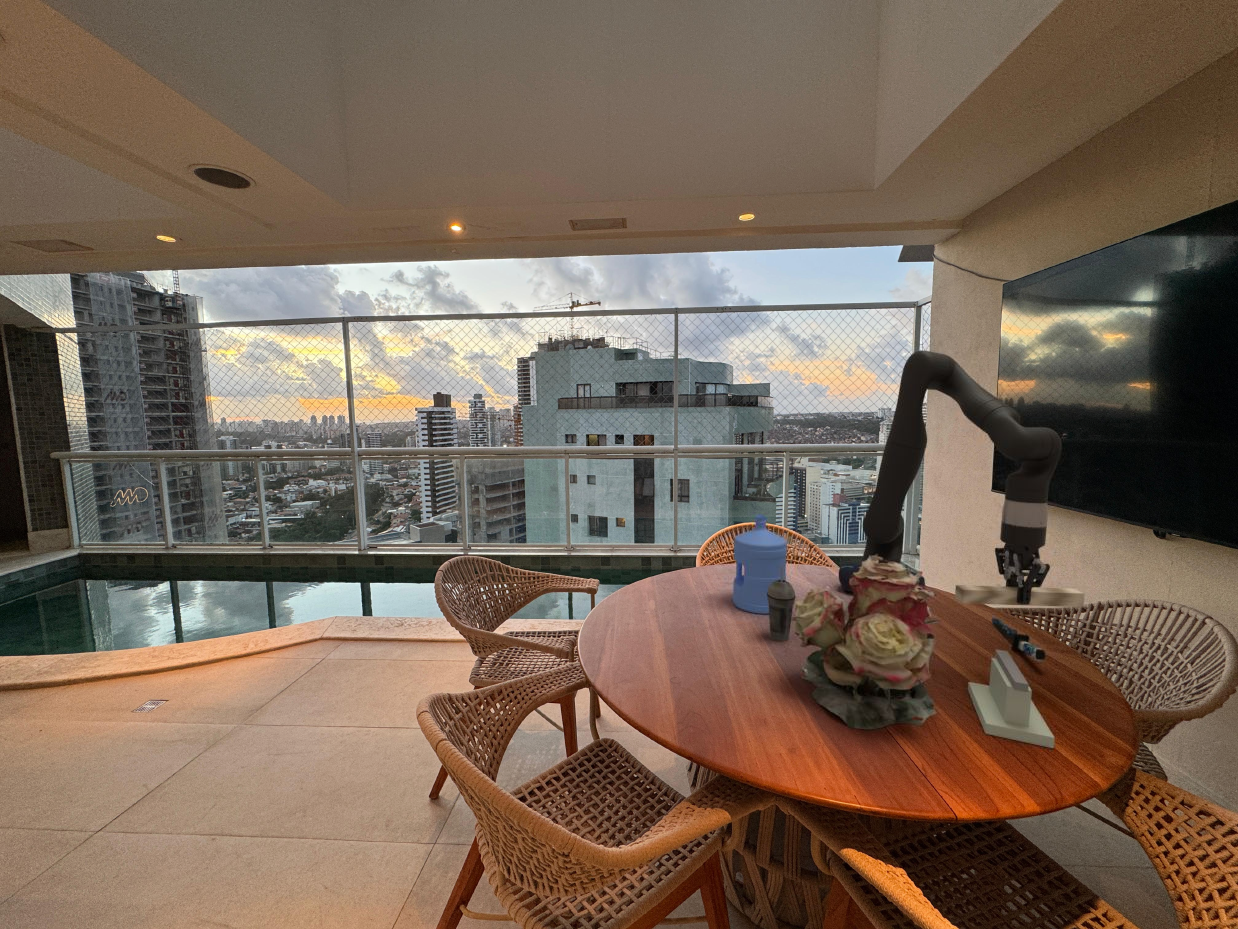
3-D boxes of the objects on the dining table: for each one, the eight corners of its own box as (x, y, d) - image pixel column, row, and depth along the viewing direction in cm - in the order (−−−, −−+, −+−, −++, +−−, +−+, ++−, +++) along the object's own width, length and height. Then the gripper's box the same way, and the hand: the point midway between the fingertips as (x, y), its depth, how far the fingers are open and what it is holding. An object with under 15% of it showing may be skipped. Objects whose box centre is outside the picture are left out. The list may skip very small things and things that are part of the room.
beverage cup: (794, 633, 136) (796, 561, 134) (794, 645, 129) (796, 569, 127) (766, 630, 139) (768, 558, 137) (764, 641, 132) (766, 566, 130)
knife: (1046, 670, 114) (1047, 650, 114) (1030, 667, 115) (1031, 648, 115) (1002, 631, 143) (1003, 615, 142) (989, 629, 144) (990, 613, 144)
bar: (962, 603, 108) (963, 589, 108) (954, 598, 111) (955, 585, 111) (1083, 607, 106) (1084, 593, 106) (1071, 602, 109) (1073, 588, 109)
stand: (1053, 748, 90) (1058, 692, 89) (985, 733, 94) (989, 679, 93) (1026, 701, 104) (1030, 653, 103) (967, 690, 108) (971, 643, 107)
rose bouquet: (778, 666, 119) (782, 541, 116) (904, 667, 118) (912, 542, 115) (818, 735, 93) (825, 577, 90) (979, 737, 93) (991, 578, 90)
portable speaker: (833, 592, 168) (835, 563, 167) (842, 584, 175) (843, 556, 174) (921, 610, 152) (923, 578, 151) (925, 601, 160) (927, 570, 159)
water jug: (790, 602, 159) (793, 514, 156) (776, 619, 146) (779, 523, 143) (742, 592, 167) (744, 509, 165) (725, 608, 154) (727, 517, 151)
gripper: (1069, 529, 100) (1061, 614, 102) (1019, 515, 114) (1013, 589, 115) (1028, 529, 100) (1021, 613, 102) (984, 514, 114) (978, 588, 116)
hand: (1017, 600), depth 109 cm, fingers closed on bar, 3 cm apart
